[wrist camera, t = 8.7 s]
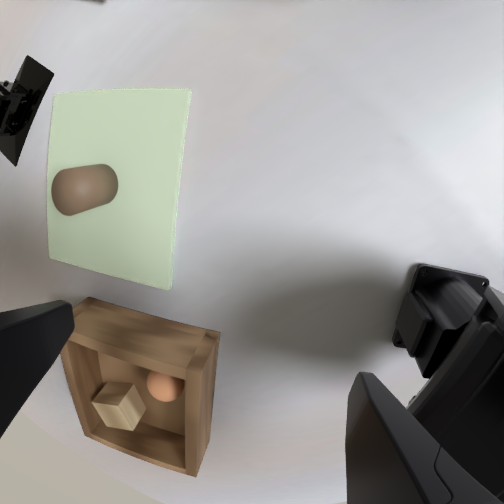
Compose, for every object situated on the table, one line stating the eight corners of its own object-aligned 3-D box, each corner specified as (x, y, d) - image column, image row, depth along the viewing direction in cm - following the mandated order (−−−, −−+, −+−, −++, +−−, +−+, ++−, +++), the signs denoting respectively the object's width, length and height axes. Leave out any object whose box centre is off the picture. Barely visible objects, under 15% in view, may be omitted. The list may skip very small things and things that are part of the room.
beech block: (133, 383, 26) (118, 405, 23) (146, 408, 27) (133, 430, 24) (107, 381, 27) (91, 402, 24) (120, 405, 27) (106, 426, 24)
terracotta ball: (189, 363, 24) (176, 387, 21) (188, 389, 25) (176, 413, 22) (154, 353, 24) (139, 375, 21) (156, 380, 25) (142, 402, 22)
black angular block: (19, 183, 24) (-16, 191, 19) (-13, 148, 23) (-45, 152, 19) (73, 61, 19) (36, 52, 15) (34, 38, 19) (1, 30, 15)
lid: (195, 92, 19) (163, 76, 14) (174, 284, 24) (144, 316, 19) (63, 95, 20) (20, 90, 16) (57, 253, 25) (18, 273, 20)
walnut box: (220, 332, 24) (200, 372, 19) (209, 440, 28) (195, 477, 23) (88, 296, 25) (54, 323, 20) (106, 406, 29) (84, 435, 25)
